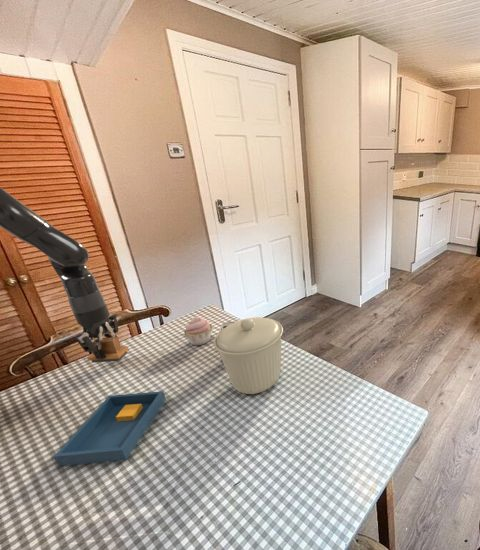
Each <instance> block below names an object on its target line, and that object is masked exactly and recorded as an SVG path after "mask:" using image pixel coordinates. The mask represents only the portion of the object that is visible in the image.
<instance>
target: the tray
mask: <svg viewBox="0 0 480 550" xmlns="http://www.w3.org/2000/svg"><path fill="white" fill-rule="evenodd" d="M164 392H165V391H164V390H161V391H149V392H137V393H125V394H124V393H123V394H112V395H111V394H110V395H108V396H107V397H106V398H105V400H103V401H102V403H101V404H100V405H99V406H98V407H97V408H96V410H94V411H93V413H92V414H90V416H89V417H88V418H87V419H86V420H85V421H84V422H83V424H82V425H81V426H80V427H79V428H78V429H77V430H76V431H75V433H73V435H72V436H71V437H70V438H69V439H68V440H67V441H66V443H64V444H63V446H62V447H61V448H60V449H59V450H58V451H57V452H56V454H55V455H54V456H53V459H54V461H55V462H56V464H57V466H58V467H59V468H61V467H69V466H78V465H89V464H99V463H109V462H117V461H127V460H128V458H129V456H130V455H131V454H132V452H133V451H134V449H135V447H136V446H137V444H138V443H139V442H140V440H141V439H142V437H143V436H144V433H146V432H147V430H148V427H150V425H151V424H152V422H153V420H154V419H155V417H156V416H157V415H158V413H159V411H160V410H161V408H162V407H163V405H164V404H165V403H166V401H167V398H166V396H165V393H164ZM131 404H142V406H143V409H142V410H141V411H140V413H139V414H138V415H137V417H136V418H135V419H134V420H128V421H117V419H116V416H117V415H118V414H119V412H120V411H121V410H122V409H123V407H124V406H125V405H131Z"/></svg>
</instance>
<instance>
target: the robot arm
mask: <svg viewBox="0 0 480 550" xmlns="http://www.w3.org/2000/svg"><path fill="white" fill-rule="evenodd" d="M0 228H1V229H2V230H4V231H6V232H7V233H9V234H10V235H12V236H13V237H14V238H16V239H18V240H20V241H22V242H23V243H26V244H27V245H30V246H32V247H34V248H35V249H37V250H38V251H40V252H41V253H43V254H45V255H46V256H47V260H48V261H49V263H50V264H51V266H52V268H53V270H54V271H55V273H56V274H57V276H58V278H59V279H60V281H61V284H62V287H63V290H64V292H65V294H66V296H67V300H68V304H69V307H70V309H71V312H72V313H73V316H74V318H75V320H76V323H77V324H78V325H79V326H81V327H82V332H83V333H82V334H81V335H80V336H77V337H76V338H75V341H76V342H77V343H78V344H79V346H80V348H81V349H82V350H83V351H84V352H85V353H89V352H90V353H92V351H93V353H94V355H95V357H96V359H98V360H99V359H104V358H106V356H105V353H104V351H103V348H101V341H103V338H110V337H117V335H116V334H118V333H119V323H118V318H117V315H116V314H110V311H109V308H108V305H107V304H106V301H105V298H104V296H103V294H102V292H101V290H100V288H99V286H98V282H97V280H96V278H95V275H94V274H93V273H92V272H91V271H90V269H88V267H87V265H86V263H87V262H88V261H89V257H90V254H89V251H88V249H87V247H85V246H84V245H83V244H82V243H80V242H79V241H77V239H74V238H73V237H71V236H70V235H68V234H66V233H64V232H63V231H61V230H59V229H58V228H56V227H55V226H54V225H52V224H51V223H50V222H48V220H46V219H45V218H43V217H42V216H41V215H39V214H38V213H36V212H35V211H34V210H32V209H31V208H29V207H28V206H27V205H26V204H24V203H22V202H21V201H20V200H19V199H17V198H15V197H14V196H13V195H12V194H10V193H9V192H8V191H6V190H5V189H4V188H2V187H0ZM95 338H98V339H95ZM94 342H96V344H97V346H95V345H94Z"/></svg>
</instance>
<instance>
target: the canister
mask: <svg viewBox="0 0 480 550" xmlns="http://www.w3.org/2000/svg"><path fill="white" fill-rule="evenodd" d="M233 322H234V323H232V324H230V325H228V326H227V327H225V328H224V329H222V330H221V329H220V331H219V332H218V333H217V334H216V335H215V336H214V339H213V346H214V348H215V350H216V351H217V352H218V353H219V356H220V358H221V361H222V363H223V367H224V369H225V371H226V374H227V375H228V379H229V380H230V383H231V385H232V386H233V388H234V389H235V390H236V391H238V392H239V393H241V394H246V395H255V394H259V393H263V392H265V391H268V390H269V389H270V388H272V387H273V386H274V385H275V384H276V383H277V381H278V380H279V378H280V376H281V372H282V371H281V369H282V335H283V333H284V327H283V325H282V324H281V323H280V322H279V321H278V320H276V319H272V318H267V317H262V316H261V317H259V316H257V317H256V316H255V317H247V318H243V319H240V320H237V321H233Z"/></svg>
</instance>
